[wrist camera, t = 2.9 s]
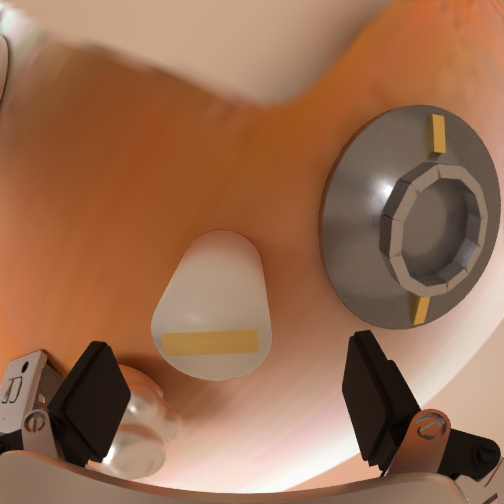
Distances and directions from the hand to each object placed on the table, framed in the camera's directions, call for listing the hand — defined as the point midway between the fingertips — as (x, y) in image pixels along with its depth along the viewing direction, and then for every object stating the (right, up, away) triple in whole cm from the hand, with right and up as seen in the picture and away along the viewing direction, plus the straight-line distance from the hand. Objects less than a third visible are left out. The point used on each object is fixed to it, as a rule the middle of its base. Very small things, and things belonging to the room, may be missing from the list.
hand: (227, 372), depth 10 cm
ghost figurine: (-9, -7, +11) cm, 16 cm away
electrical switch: (-22, -9, +12) cm, 26 cm away
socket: (+13, +6, +7) cm, 16 cm away
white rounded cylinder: (-1, +3, +8) cm, 8 cm away
